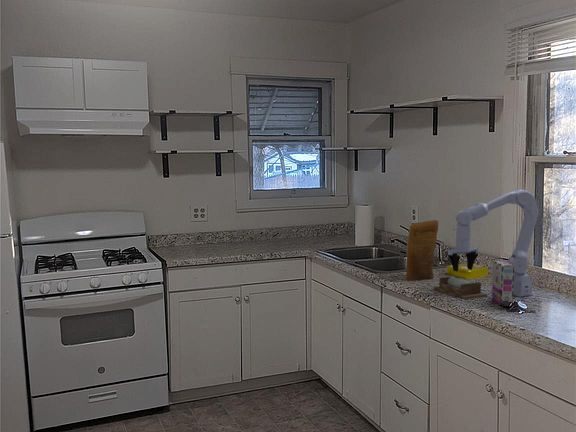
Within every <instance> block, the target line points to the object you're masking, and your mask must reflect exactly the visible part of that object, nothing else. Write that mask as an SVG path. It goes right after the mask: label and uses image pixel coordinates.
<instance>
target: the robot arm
mask: <svg viewBox="0 0 576 432" xmlns="http://www.w3.org/2000/svg"><path fill="white" fill-rule="evenodd" d="M536 201H537V200H536V197H535V196H534V195H533V193H532V192H531V191H529V190H525V189H521V188H519V189H517V190H514V191H513V190H512V191H510V192H508V193H505V194H504V195H501V196H499V197H497V198H495V199H492V200H491V201H489V202H487V203H484V202H476V203H475V205H473V206H471V207H465V209H464V210H460V211H458V213H456V215H455V220H456V238H455V239H456V242H455V245H456V246H455V248H452V249H447V256H448V259H449V260H450V262H451V265H452V266H453V271H458V264H460V263H459V262H460V258H461V256H460V255H462V254H465V256H466V263H467V268H468V269H470V270H472V268H473V265H475V261H476V259H477V257H479V247H471V223H472V222H473V221H474V222H475V221H476V220H478V219H481V218H484V217H486V216H488V214H489V212H490V211H492V210H494V209H497V208H500V207H502V206H504V205H506V204H510V205H512V204H513V205H518V206H519V207H520V209H522V210H523V212H524V217H523V219H522V223H521V226H520V229H519V233H518V237H517V240H516V244H515V246H514V250H513V251H512V253H511V255H510V257H509V258H508V259H507V262H508V263H510V264H512V265H514V284H513V296H515V297H518V298H519V297H520V298H521V297H526V296H533V295H534V293H533V279H532V277H531V276H530V275H528V273H527V270H528V259H529V258H528V251H529V248H530V244H531V241H532V238H533V234H534V230H535V227H536V223H537V220H538V217H539V212H540V210H539V207H538V204H537V202H536Z"/></svg>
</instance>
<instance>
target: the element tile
mask: <svg viewBox="0 0 576 432" xmlns="http://www.w3.org/2000/svg"><path fill="white" fill-rule="evenodd" d="M446 275H448V276H459V279H464V280H465V279H466V280H473V279H478V278H479V279H480V278H483V277H484V278H485V277H488V276H489V267H487V266H482V265H478V264H473V268H472V270H470V269H468V268H467V262H465V263H464V262H463V263H459V264H458V271H453V266H452V264H450V265H447V266H446Z"/></svg>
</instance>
